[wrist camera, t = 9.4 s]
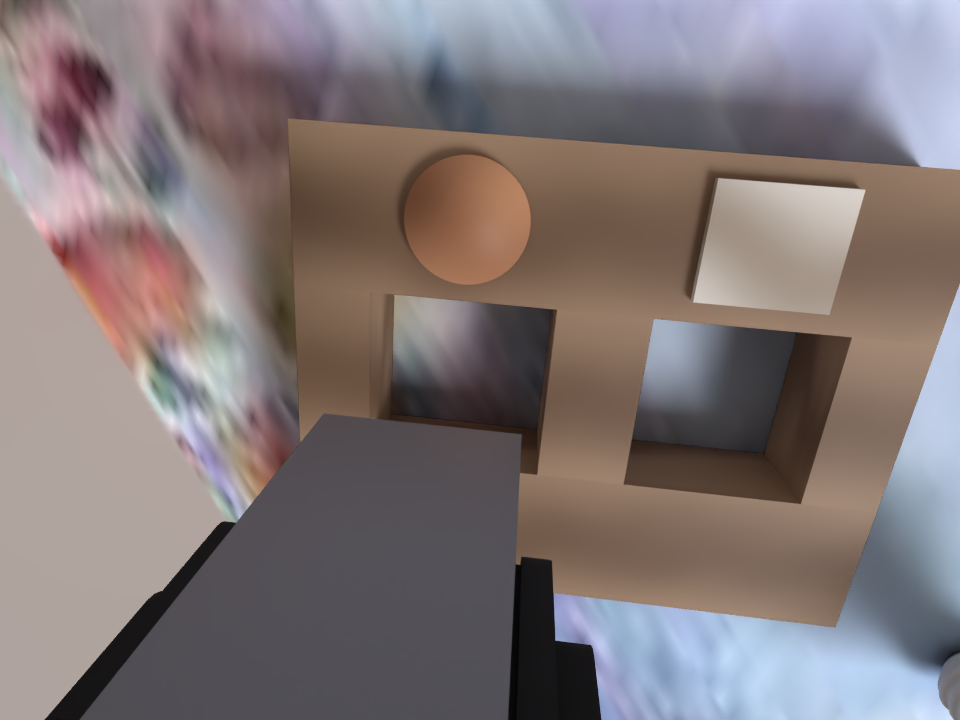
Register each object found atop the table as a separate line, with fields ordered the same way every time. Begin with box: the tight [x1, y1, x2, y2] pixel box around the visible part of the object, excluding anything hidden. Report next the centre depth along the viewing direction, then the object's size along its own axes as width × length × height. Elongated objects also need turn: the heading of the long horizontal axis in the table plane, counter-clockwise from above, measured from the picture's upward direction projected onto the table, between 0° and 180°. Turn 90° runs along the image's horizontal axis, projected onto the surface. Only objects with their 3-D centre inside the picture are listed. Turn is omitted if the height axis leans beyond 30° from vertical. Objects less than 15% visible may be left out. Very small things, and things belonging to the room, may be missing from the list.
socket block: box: [288, 119, 960, 627], centre depth 21 cm, size 16×20×4 cm
